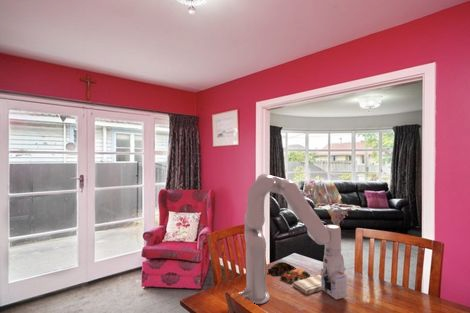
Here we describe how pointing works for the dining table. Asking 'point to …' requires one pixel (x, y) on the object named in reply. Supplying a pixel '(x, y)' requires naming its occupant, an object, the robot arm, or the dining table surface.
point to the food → (287, 272)
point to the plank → (309, 284)
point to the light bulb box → (336, 285)
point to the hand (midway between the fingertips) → (333, 287)
